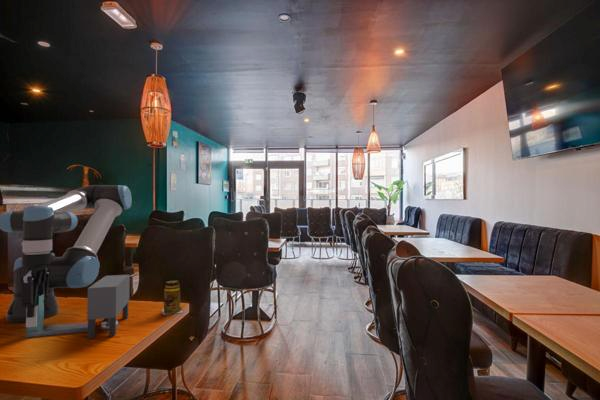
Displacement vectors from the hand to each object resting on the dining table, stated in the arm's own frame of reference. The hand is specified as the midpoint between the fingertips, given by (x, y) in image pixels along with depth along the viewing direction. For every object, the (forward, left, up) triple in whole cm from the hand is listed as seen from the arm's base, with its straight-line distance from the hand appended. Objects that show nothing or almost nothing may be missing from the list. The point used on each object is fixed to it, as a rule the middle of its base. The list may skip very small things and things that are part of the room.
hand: (34, 324), depth 100 cm
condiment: (-12, +41, -3) cm, 43 cm away
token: (0, +22, -3) cm, 22 cm away
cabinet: (0, +22, -3) cm, 22 cm away
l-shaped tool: (0, +8, -3) cm, 8 cm away
